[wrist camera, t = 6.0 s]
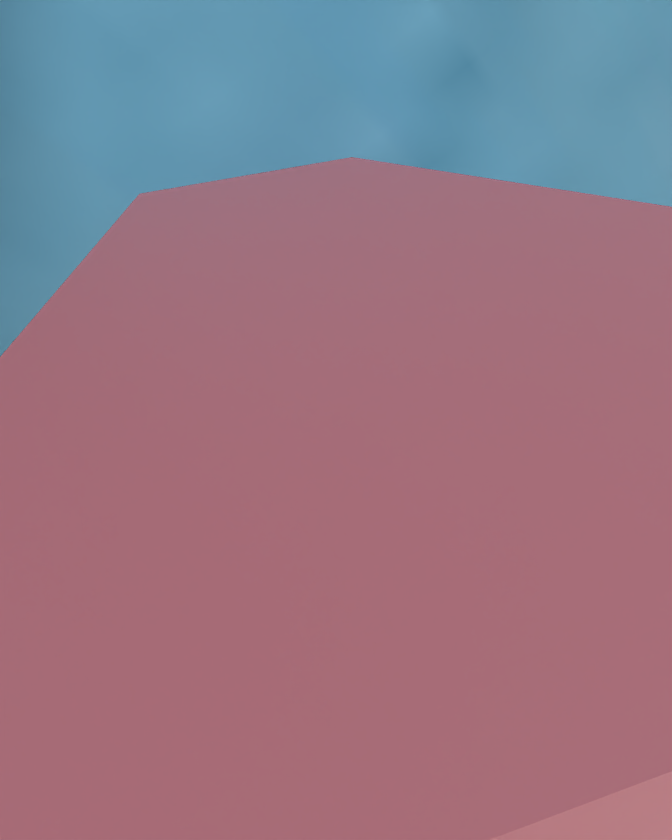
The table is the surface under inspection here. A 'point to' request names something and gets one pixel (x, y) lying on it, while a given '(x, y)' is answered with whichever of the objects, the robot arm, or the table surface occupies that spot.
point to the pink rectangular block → (343, 518)
